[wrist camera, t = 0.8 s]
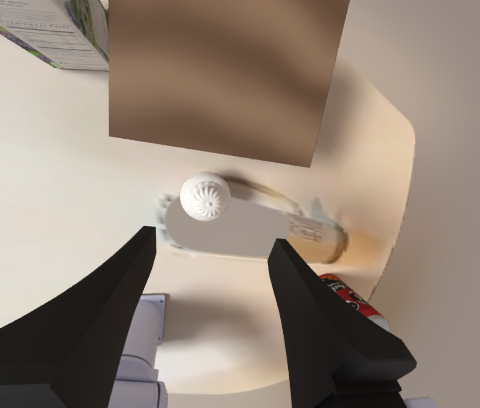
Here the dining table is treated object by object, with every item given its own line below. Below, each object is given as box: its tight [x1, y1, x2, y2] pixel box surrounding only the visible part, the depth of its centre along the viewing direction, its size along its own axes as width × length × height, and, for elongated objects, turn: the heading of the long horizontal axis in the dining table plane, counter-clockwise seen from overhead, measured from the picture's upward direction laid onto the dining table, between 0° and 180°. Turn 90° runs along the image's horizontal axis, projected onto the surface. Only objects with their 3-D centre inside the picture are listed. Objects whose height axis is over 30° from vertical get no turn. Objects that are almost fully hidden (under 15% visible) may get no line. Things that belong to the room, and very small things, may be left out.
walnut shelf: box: [109, 0, 350, 168], centre depth 20 cm, size 13×16×12 cm
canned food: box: [319, 274, 390, 332], centre depth 34 cm, size 8×8×11 cm
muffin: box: [180, 172, 231, 221], centre depth 25 cm, size 6×6×7 cm
